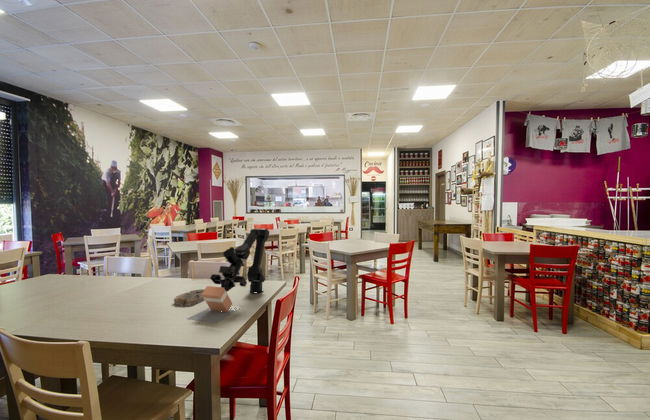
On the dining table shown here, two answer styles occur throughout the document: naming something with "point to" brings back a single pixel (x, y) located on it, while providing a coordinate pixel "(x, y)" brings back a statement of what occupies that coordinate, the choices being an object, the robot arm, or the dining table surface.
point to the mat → (211, 315)
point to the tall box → (217, 298)
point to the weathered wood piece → (189, 298)
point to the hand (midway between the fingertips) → (221, 295)
